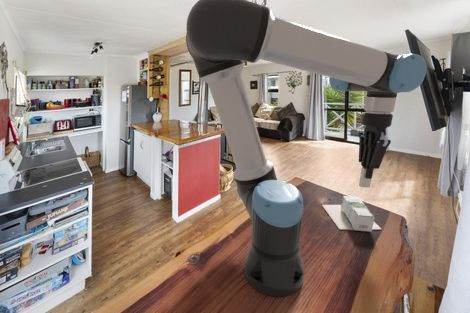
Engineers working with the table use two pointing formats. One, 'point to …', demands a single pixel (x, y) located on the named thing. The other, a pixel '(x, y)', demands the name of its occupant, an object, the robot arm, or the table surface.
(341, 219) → the mat
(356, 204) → the syrup box
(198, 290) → the table surface
